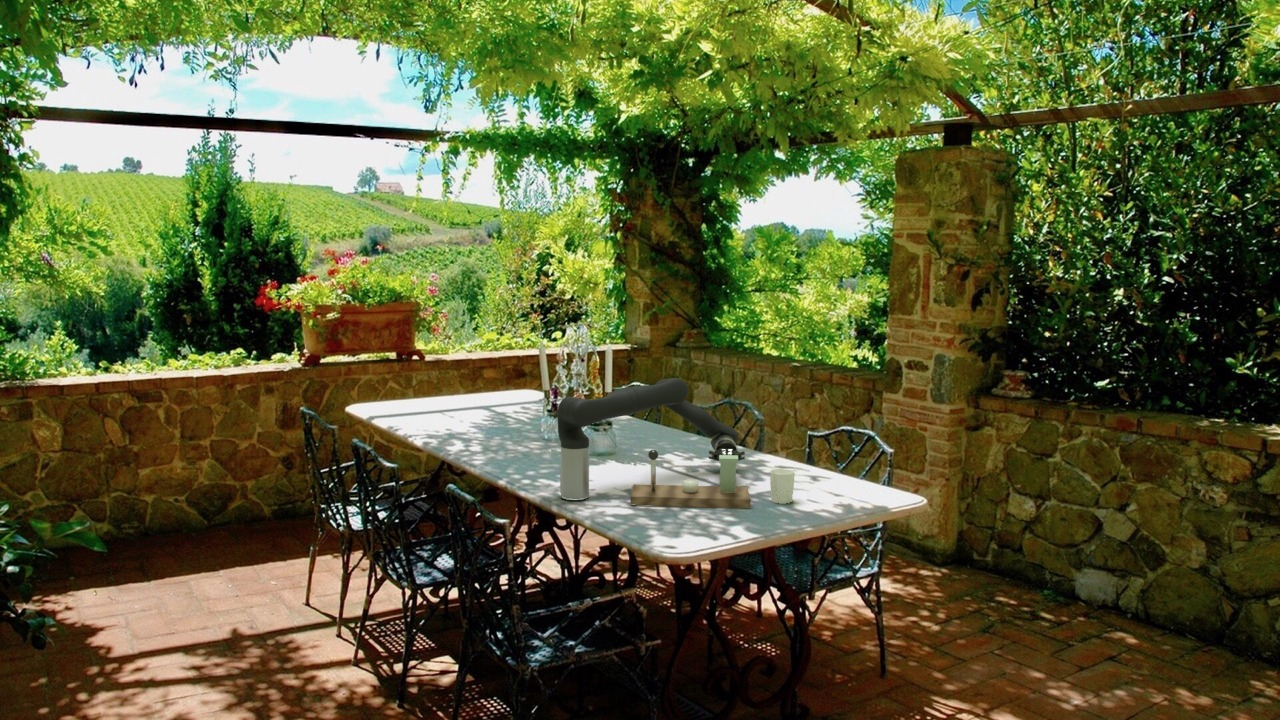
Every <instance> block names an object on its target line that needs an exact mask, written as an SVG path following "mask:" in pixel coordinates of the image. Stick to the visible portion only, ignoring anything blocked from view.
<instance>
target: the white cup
mask: <svg viewBox="0 0 1280 720" xmlns="http://www.w3.org/2000/svg"><path fill="white" fill-rule="evenodd" d="M769 474H770V475H769V476H770V480H769V481H770V497H771V498H770V500H771V501H770V502H772V503H775V504H778V503H779V504H780V505H786V503H788V504H791V503H792V502H793V495H794V488H795V487H794V486H795V474H796V472H795V471H794V470H792V469H788V468H773V469H770V471H769ZM790 502H791V503H790ZM779 504H778V505H779Z"/></svg>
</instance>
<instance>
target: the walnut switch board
mask: <svg viewBox="0 0 1280 720" xmlns="http://www.w3.org/2000/svg"><path fill="white" fill-rule="evenodd" d="M631 504H635V505H653V506H652V507H662V506H664V507H667V508H672V507H673V508H705V509H706V508H707V509H711V508H713V509H718V508H719V509H743V508H747V509H748V510H749V509H751V496H750V492H749V487H748V486H735V492H720V485H719V486H718V485H716V486H715V485H698V492H695V493H687V492H684V491H683V484H682V485H678V484H677V485H676V484H675V485H674V484H673V485H671V484H656V490H655V491H652V490H651V484H636V483H635V484H633V486H632V490H631V493H630V505H631ZM747 509H746V510H747Z"/></svg>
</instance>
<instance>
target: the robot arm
mask: <svg viewBox="0 0 1280 720" xmlns="http://www.w3.org/2000/svg"><path fill="white" fill-rule="evenodd" d="M689 389H690V388H689V385H688V384H687V382H685V380H683V379H681V378H678V377H672V378H665V379H661V380H658V381H656V383H655V384H649V385H635V386H627V387H623V388H618V389H615V390H613V391H611V392H610V393H608V394H607V395H606V396H604V397H601V398H592V399H591V398H590V399H589V398H588V399H585V398H580V397H574V396H566V397H564V398H563V399H561V401H560V402H559V405H558V407H557V431H558V432H557V433H558V434H557V435H558V438H559V441H560V469H559V470H560V471H559V473H560V474H559V482H560V483H559V485H560V486H559V488H560V489H559V493H561V496H563V497H566V498H572V499H580V498H586V497H588V496H589V497H590V439H589V437H588V436H587V435H586V434H585V433H584V430H583V429H582V428H584V427H588V426H590V425H593V424H597V423H598V422H602V421H603V420H604V421H605V420H608V419H616V418H620V417H624V416H625V417H626V416H630V415H634V414H637V413H640V412H641V413H642V412H644V411H647V410H650V409H654V408H657V407H659V406H664V407H665V408H666V409H670V410H671V411H672V412H674V413H675V414H677V415H679V416H680V417H681V418H683V419H684V420H686V421H687V422H689V423H690V424H691V425H692V426H694V428H696V429H697V430H698V431H699V432H700V433H702V434H703V435H704V436H705V437H707V438H712V439H711V441H710V445H711V447H712V449H713V450H714V451H712V450H709V451H708V459H709V460H713V461H716V462H719V455H738V462H739V461H742V460H745V459H746V458H745V456H746V454H745V451H739V450H738V447H737V444H736V443H737V442H738V441H739V438H740V436H739V433H738V431H737V430H736V429H735V428H733V427H731V426H729V425H727V424H724V423H722V422H720V421H719V420H717V419H716V418H715V417H714V416H713V415H712V414H711V413H710V412H708V411H707V410H705V409H704V408H701V407H700V406H698V405H695V404H694V403H691V402H690V401H688V400H687V398H688V395H689V392H690V390H689ZM561 496H560V497H561Z"/></svg>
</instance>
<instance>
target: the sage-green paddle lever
mask: <svg viewBox="0 0 1280 720" xmlns="http://www.w3.org/2000/svg"><path fill="white" fill-rule="evenodd" d="M718 463H719V464H720V465H719V466H720V468H719V471H720V472H719V486H720V492H735V487H736V479H737V478H736V477H737V476H736V475H737V464H739V461H738V455H719V461H718Z"/></svg>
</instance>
